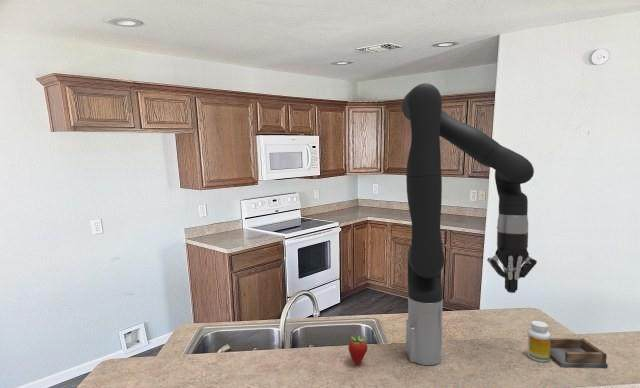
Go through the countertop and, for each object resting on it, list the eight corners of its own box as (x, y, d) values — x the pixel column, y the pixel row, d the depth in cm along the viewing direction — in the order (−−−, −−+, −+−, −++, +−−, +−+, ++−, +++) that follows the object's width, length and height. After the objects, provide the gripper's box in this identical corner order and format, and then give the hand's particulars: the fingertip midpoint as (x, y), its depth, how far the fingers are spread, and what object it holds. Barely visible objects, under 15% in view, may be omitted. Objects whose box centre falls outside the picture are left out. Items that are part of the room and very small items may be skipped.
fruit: (367, 359, 99) (367, 331, 99) (367, 369, 94) (367, 340, 94) (349, 358, 100) (348, 330, 100) (348, 368, 95) (348, 339, 94)
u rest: (560, 367, 95) (561, 354, 94) (539, 348, 105) (539, 337, 104) (607, 368, 94) (608, 355, 94) (581, 349, 104) (581, 337, 104)
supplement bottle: (553, 363, 96) (554, 328, 96) (531, 361, 98) (532, 327, 97) (545, 353, 102) (546, 320, 101) (524, 351, 103) (525, 319, 102)
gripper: (493, 232, 95) (492, 296, 96) (544, 232, 94) (543, 296, 95) (482, 228, 102) (481, 287, 103) (529, 228, 101) (528, 287, 102)
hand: (511, 291), depth 99 cm, fingers closed
